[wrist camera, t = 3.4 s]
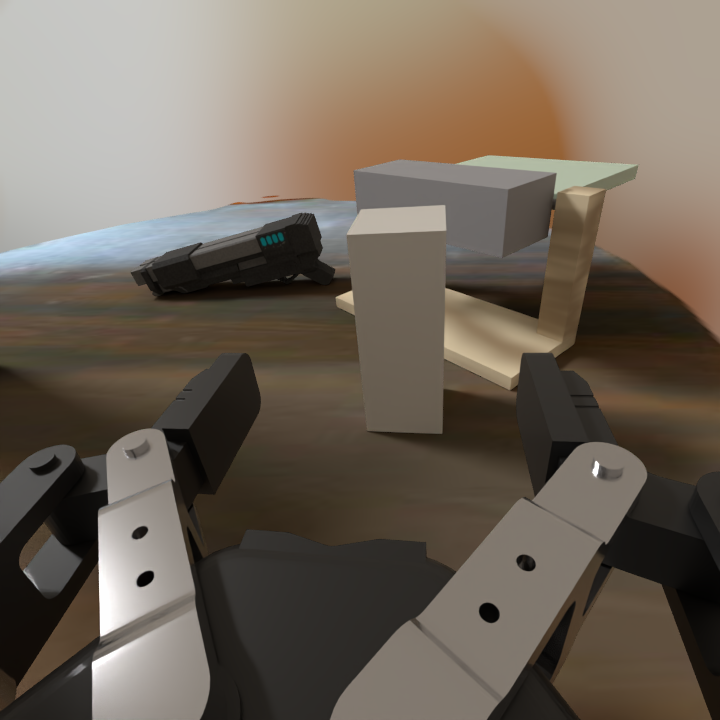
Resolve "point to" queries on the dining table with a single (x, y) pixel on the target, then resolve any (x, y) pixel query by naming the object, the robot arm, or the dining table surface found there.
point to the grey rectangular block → (400, 315)
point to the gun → (241, 259)
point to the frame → (515, 330)
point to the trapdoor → (486, 195)
